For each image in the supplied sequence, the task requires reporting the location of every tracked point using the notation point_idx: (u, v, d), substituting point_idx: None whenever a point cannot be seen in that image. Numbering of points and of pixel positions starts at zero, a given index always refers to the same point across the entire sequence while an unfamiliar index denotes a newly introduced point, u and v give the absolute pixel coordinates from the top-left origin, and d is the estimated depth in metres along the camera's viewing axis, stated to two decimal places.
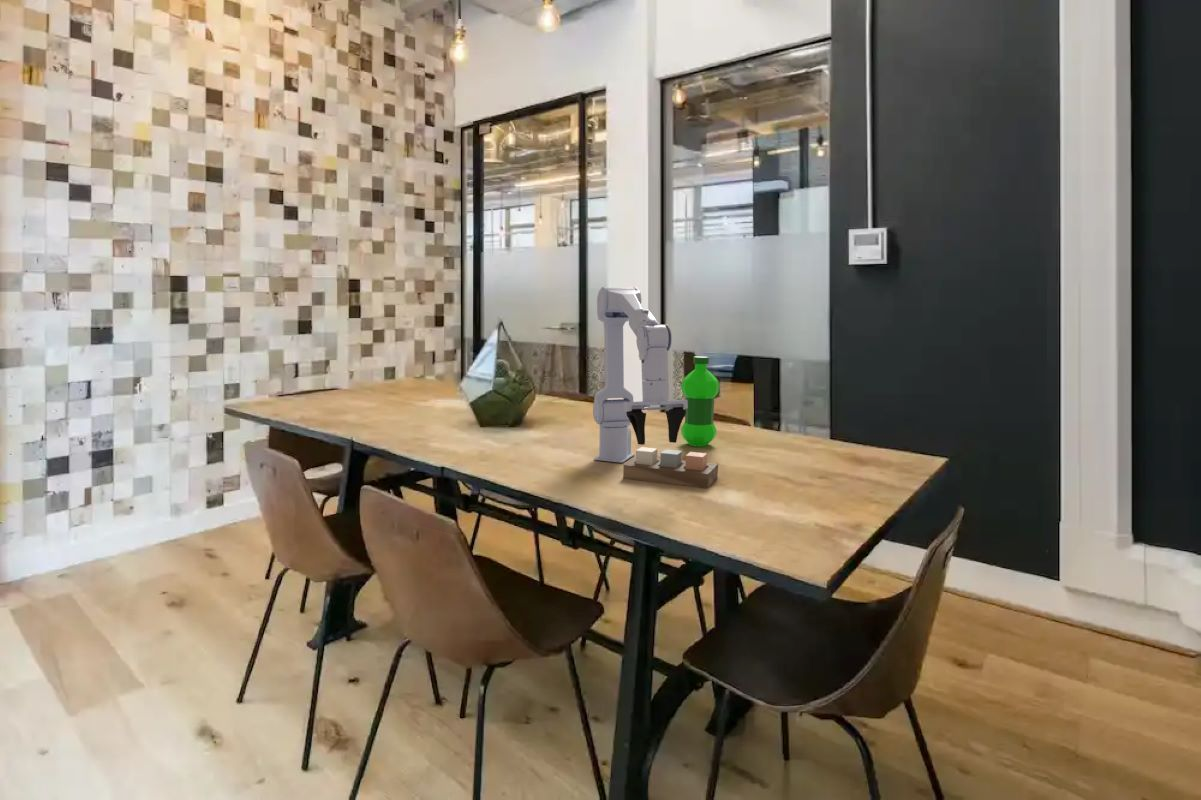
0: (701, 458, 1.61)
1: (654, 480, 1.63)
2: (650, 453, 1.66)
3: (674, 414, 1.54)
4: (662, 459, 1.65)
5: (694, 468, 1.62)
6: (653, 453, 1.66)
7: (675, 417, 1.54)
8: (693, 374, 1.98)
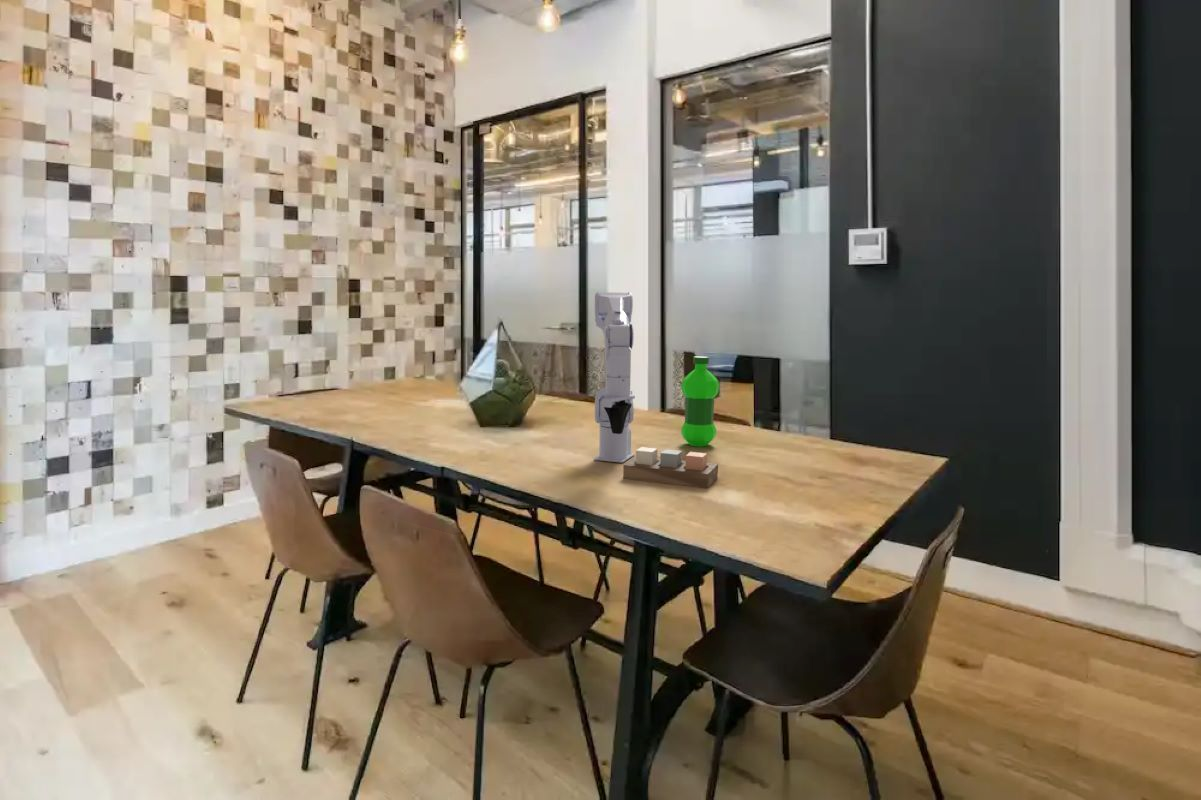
0: (701, 458, 1.61)
1: (654, 480, 1.63)
2: (650, 453, 1.66)
3: None
4: (662, 459, 1.65)
5: (694, 468, 1.62)
6: (653, 453, 1.66)
7: (625, 410, 1.67)
8: (693, 374, 1.98)
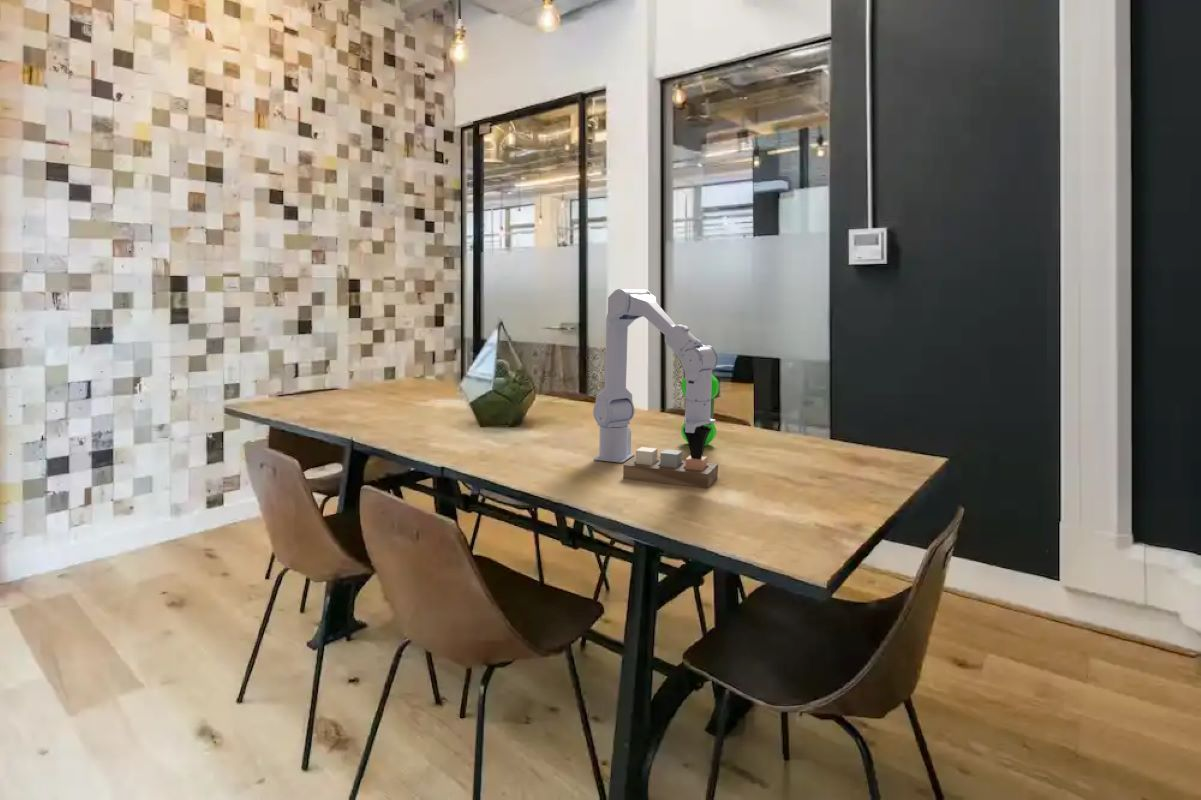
0: (701, 462, 1.61)
1: (654, 480, 1.63)
2: (650, 453, 1.66)
3: None
4: (662, 459, 1.65)
5: None
6: (653, 453, 1.66)
7: None
8: None
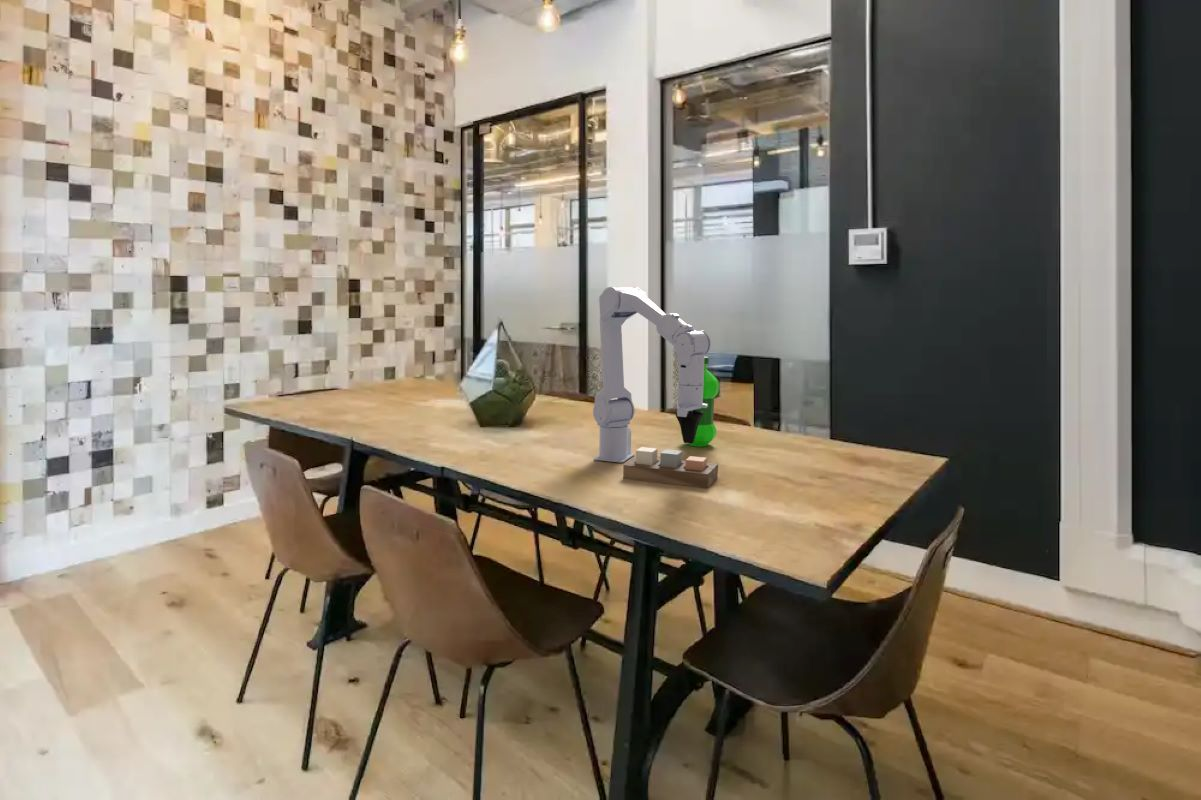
0: (701, 462, 1.61)
1: (654, 480, 1.63)
2: (650, 453, 1.66)
3: None
4: (662, 459, 1.65)
5: None
6: (653, 453, 1.66)
7: None
8: None
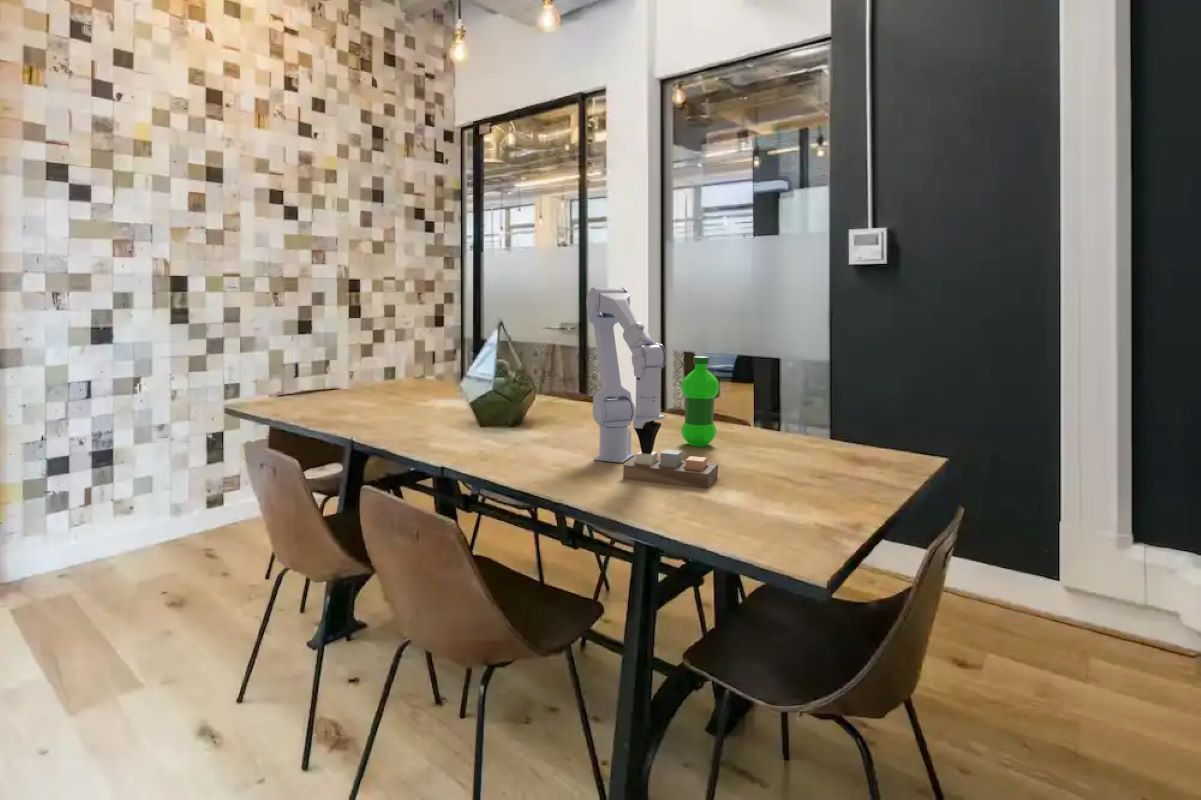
0: (701, 462, 1.61)
1: (654, 480, 1.63)
2: (650, 456, 1.66)
3: None
4: (662, 459, 1.65)
5: None
6: (653, 456, 1.67)
7: None
8: (693, 374, 1.98)
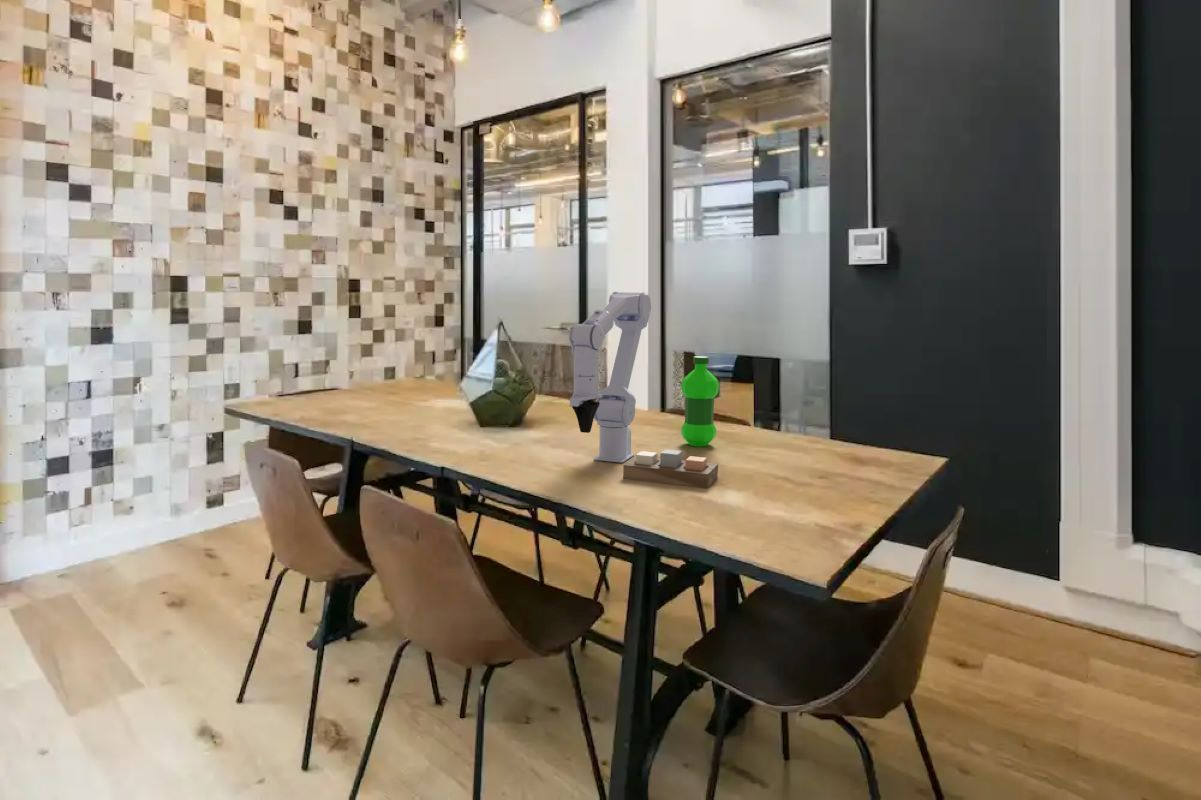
0: (701, 462, 1.61)
1: (654, 480, 1.63)
2: (650, 457, 1.66)
3: None
4: (662, 459, 1.65)
5: None
6: (653, 457, 1.67)
7: None
8: (693, 374, 1.98)
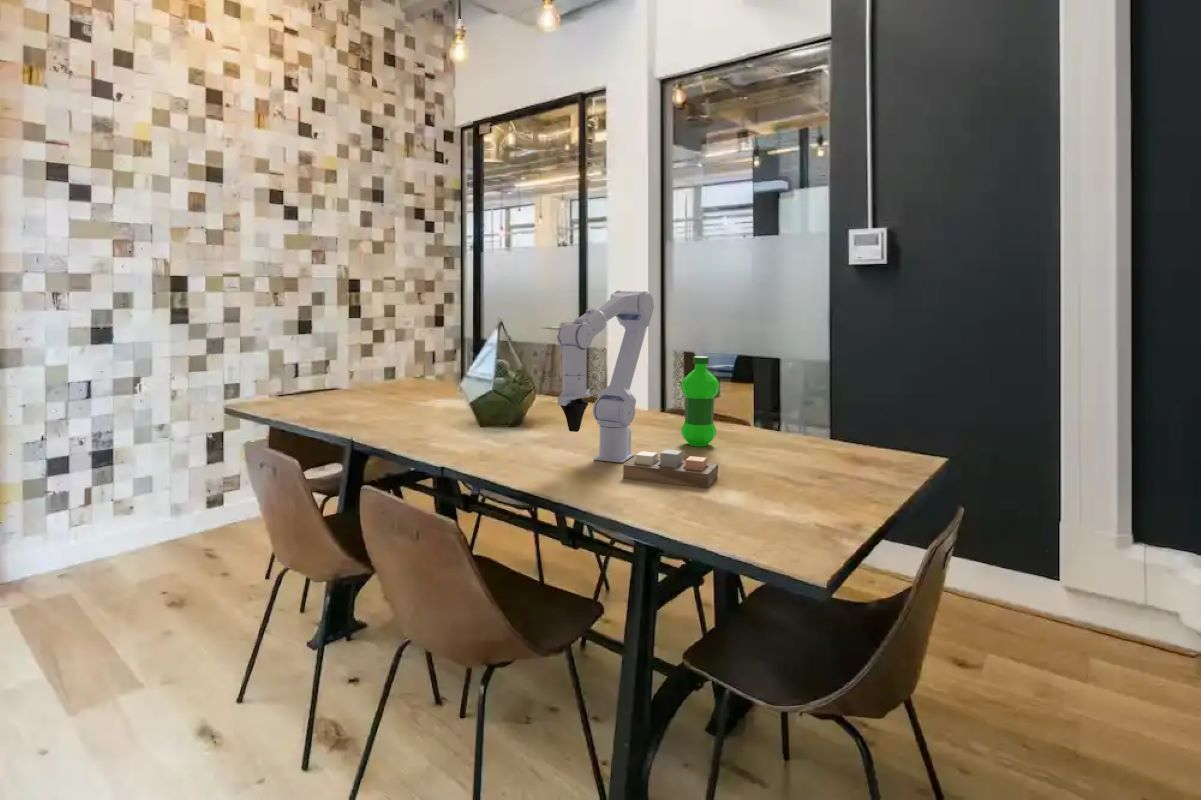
0: (701, 462, 1.61)
1: (654, 480, 1.63)
2: (650, 457, 1.66)
3: None
4: (662, 459, 1.65)
5: None
6: (653, 457, 1.67)
7: (581, 408, 1.69)
8: (693, 374, 1.98)
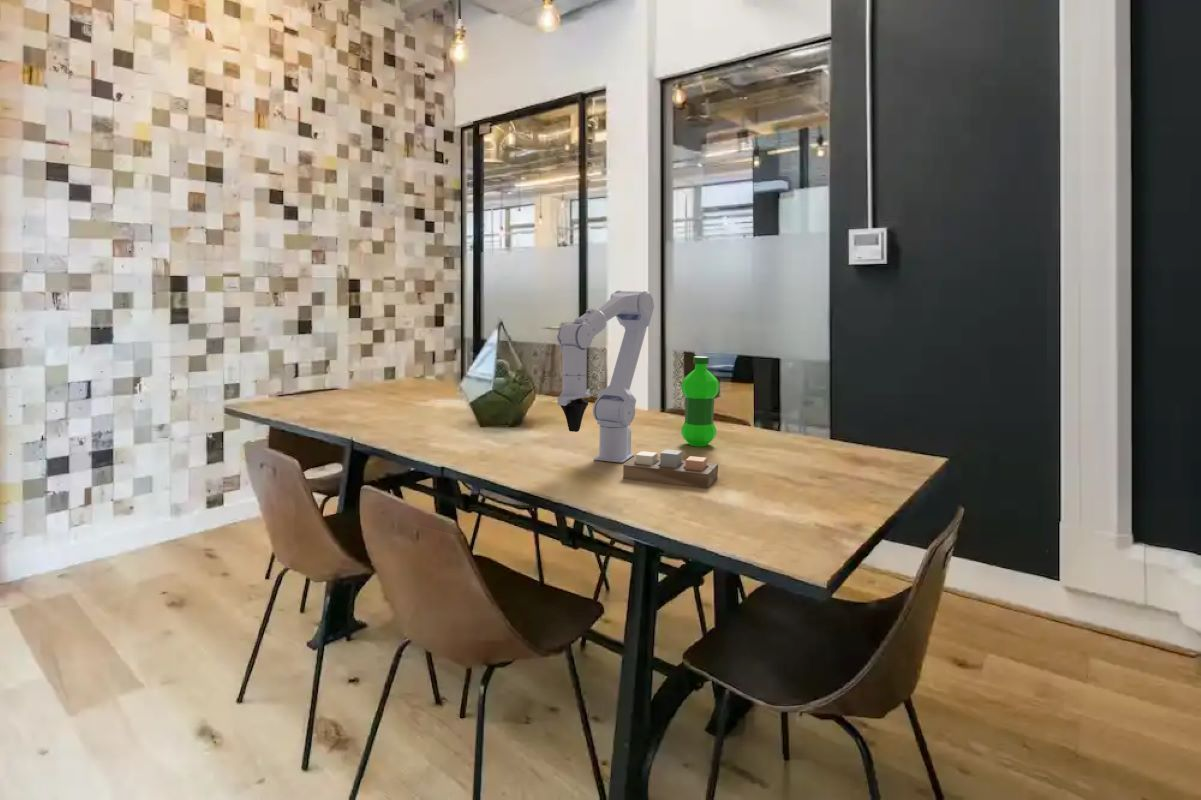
0: (701, 462, 1.61)
1: (654, 480, 1.63)
2: (650, 457, 1.66)
3: None
4: (662, 459, 1.65)
5: None
6: (653, 457, 1.67)
7: (581, 408, 1.69)
8: (693, 374, 1.98)
